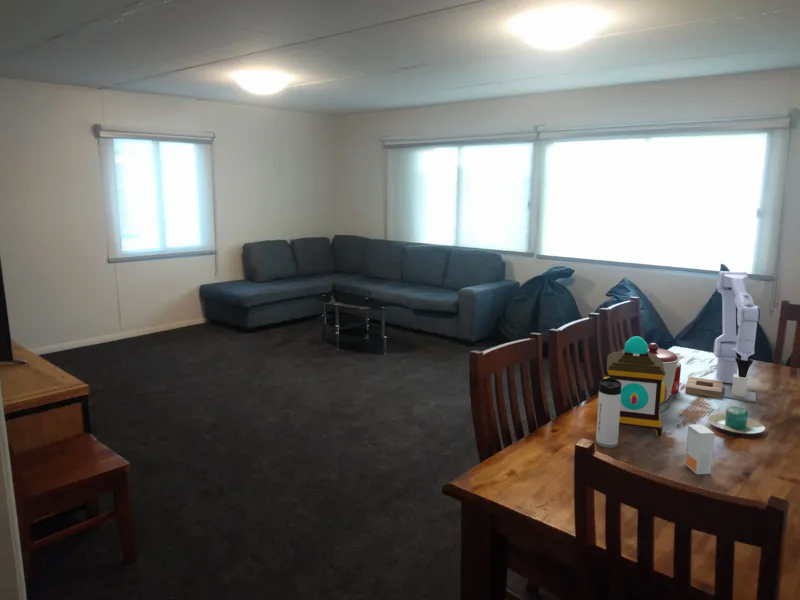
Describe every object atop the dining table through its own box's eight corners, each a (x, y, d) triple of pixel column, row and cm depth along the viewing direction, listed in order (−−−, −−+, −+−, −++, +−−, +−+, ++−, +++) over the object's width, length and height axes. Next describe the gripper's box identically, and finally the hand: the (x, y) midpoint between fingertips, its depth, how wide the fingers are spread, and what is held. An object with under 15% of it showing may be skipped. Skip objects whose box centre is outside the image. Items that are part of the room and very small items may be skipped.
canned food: (674, 387, 226) (676, 359, 224) (682, 394, 218) (684, 366, 216) (654, 386, 227) (656, 359, 225) (661, 393, 219) (663, 365, 217)
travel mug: (617, 440, 178) (621, 378, 174) (617, 449, 172) (622, 385, 168) (595, 437, 180) (599, 376, 176) (595, 446, 174) (599, 383, 170)
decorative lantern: (597, 432, 185) (603, 341, 179) (599, 410, 203) (604, 327, 197) (666, 440, 178) (674, 346, 172) (661, 417, 196) (668, 331, 190)
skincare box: (683, 464, 162) (687, 424, 160) (698, 463, 163) (702, 423, 160) (696, 475, 156) (700, 433, 154) (711, 474, 157) (715, 432, 154)
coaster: (725, 389, 222) (725, 388, 222) (755, 394, 217) (755, 392, 217) (724, 397, 214) (724, 396, 214) (755, 402, 209) (756, 400, 209)
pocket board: (688, 382, 231) (688, 376, 231) (722, 387, 225) (722, 381, 225) (685, 392, 219) (685, 386, 219) (721, 398, 214) (721, 391, 213)
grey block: (731, 391, 219) (733, 373, 218) (745, 393, 217) (747, 375, 215) (731, 394, 215) (733, 376, 214) (745, 397, 213) (747, 378, 212)
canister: (669, 411, 201) (674, 352, 198) (616, 400, 212) (620, 344, 208) (681, 396, 216) (686, 341, 212) (631, 387, 226) (634, 334, 222)
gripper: (733, 333, 220) (730, 367, 222) (733, 341, 207) (729, 378, 210) (755, 335, 216) (751, 370, 219) (756, 344, 204) (752, 381, 207)
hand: (742, 374), depth 214 cm, fingers open, 7 cm apart
